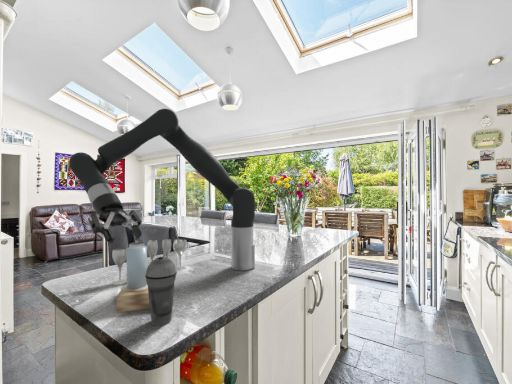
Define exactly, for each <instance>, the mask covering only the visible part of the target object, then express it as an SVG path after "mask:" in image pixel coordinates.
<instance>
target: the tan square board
mask: <svg viewBox="0 0 512 384" xmlns="http://www.w3.org/2000/svg"><path fill="white" fill-rule="evenodd" d="M115 303H116V304H115V305H116V313H121V312H122V313H123V312H131V311H141V310H147V309H149V310H150V304H149V294H148V285H146V286H144V287H142V288H137V289H129V288H127V282H126V283H124V285H123V286H122V287H121V289H120V291H119V292H118V294H117V295H116V301H115Z"/></svg>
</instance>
